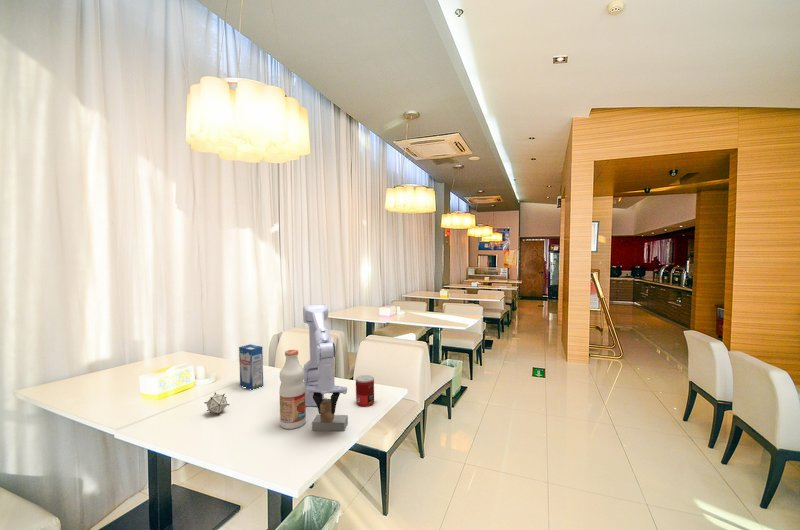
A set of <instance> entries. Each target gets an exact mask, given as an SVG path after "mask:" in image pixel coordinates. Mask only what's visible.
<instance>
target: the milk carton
mask: <svg viewBox="0 0 800 530" xmlns="http://www.w3.org/2000/svg"><path fill="white" fill-rule="evenodd" d="M238 348H239V349H238V351H239V352H238V353H239V354H238V355H239V359H238V360H239V386H240V385H241V386H243V387H246V388H249V389H251V390H253V389H256V388H258V389H260V388H259V387H261V388H263V387H264V365H263V364H264V360H263V359H264V356H263V352H264V351H263V346H260V345H256V344H247V345H246V344H245V345H243V346H239V347H238ZM262 386H263V387H262ZM251 390H250V391H251ZM256 390H257V389H256ZM253 391H254V390H253Z"/></svg>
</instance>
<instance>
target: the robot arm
mask: <svg viewBox="0 0 800 530" xmlns="http://www.w3.org/2000/svg"><path fill="white" fill-rule="evenodd" d="M302 316H303V318H302V319H303V323H304V324H307V325H308V334H309V335H308V336H309V341H308V342H309V360H308V361H307V362H305V364H303V369H304V379H303V381H304V384H305V404H306V407H316V408H317V410H318V415H320V403H321V401H322V400H323V399H328V397H325V395H326V394H331V395H330V399H331V403H332V414H334V415H335V412H336V408H337V407H336V406H337V403H338V400H339V397H340V395H341V394H343V395H347V392H348V386H340V385H335V358H336V356H337V355H336V354H337V349H336V344H335V341H334V340H333V339H332V337H331V333H330V330H329V329H328V328H327V327H326V320H327V319H328V318H329V307H328V305H327V304H326V303H324V304H316V305H315V304H313V305H305V304H304V306H303V308H302Z"/></svg>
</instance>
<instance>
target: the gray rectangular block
mask: <svg viewBox="0 0 800 530" xmlns="http://www.w3.org/2000/svg"><path fill="white" fill-rule="evenodd" d="M348 418H349V417H348V414H334V419H333V421H332V423H321V421H320V414H316V416H315V417H314V419H313V420H312V422H311V429H312V430H311V431H322V430H327V431H329V432H330V431H337V432H338V431H339V432H340V431H341V432H343V431H345V430H346V429H347V426H348V423H349V421H348V420H349V419H348Z"/></svg>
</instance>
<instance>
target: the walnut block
mask: <svg viewBox="0 0 800 530" xmlns="http://www.w3.org/2000/svg"><path fill="white" fill-rule="evenodd" d="M319 415H320V421H321V423H332V421H333V419H334V415H335V413H334V414H332V403H331V398H327V399H323V400H322V401H321V403H320V414H319Z"/></svg>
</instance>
